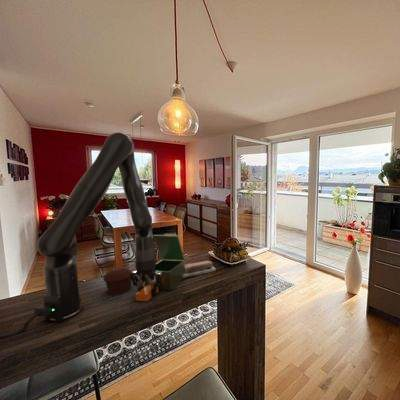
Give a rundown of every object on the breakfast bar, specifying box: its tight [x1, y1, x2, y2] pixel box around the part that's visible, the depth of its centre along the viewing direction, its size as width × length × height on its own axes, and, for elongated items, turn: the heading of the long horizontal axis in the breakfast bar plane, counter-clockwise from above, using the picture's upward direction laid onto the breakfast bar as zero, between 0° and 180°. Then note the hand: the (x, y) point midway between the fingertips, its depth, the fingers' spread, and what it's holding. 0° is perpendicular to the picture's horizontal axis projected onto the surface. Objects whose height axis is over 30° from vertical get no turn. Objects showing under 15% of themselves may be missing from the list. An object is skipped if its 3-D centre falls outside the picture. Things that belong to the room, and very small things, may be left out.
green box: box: [144, 259, 186, 291], centre depth 112 cm, size 15×13×9 cm
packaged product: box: [183, 260, 217, 279], centre depth 125 cm, size 18×5×10 cm
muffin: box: [102, 266, 133, 295], centre depth 106 cm, size 12×11×10 cm
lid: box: [152, 233, 186, 261], centre depth 117 cm, size 15×13×5 cm
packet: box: [135, 285, 159, 302], centre depth 100 cm, size 5×8×3 cm, turn 173°
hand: (147, 294), depth 100 cm, fingers open, 5 cm apart
